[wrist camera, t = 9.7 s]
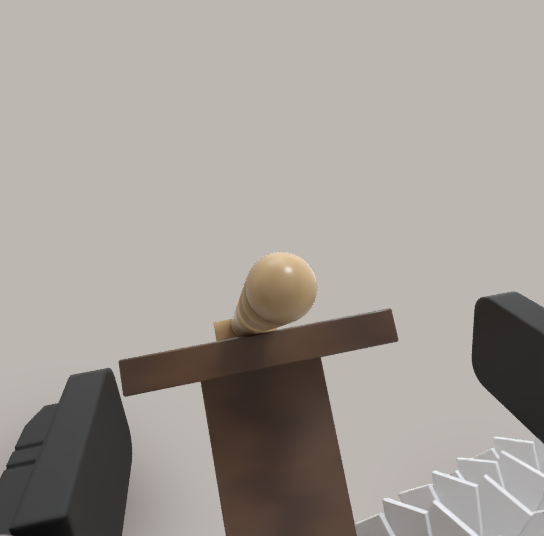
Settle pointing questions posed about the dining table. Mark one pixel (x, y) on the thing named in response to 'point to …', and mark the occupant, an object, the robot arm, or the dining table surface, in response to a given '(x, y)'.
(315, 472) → the spoon stand
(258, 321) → the wooden spoon
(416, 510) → the spiral staircase
